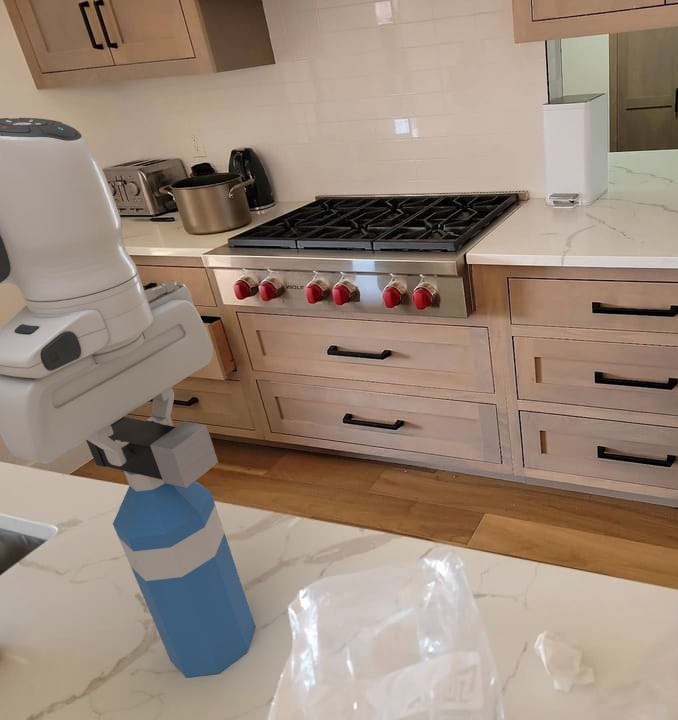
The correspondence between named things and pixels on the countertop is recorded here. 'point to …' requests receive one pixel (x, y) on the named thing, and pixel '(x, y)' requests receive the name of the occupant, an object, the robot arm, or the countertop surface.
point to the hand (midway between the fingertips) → (143, 447)
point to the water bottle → (185, 573)
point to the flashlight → (162, 450)
